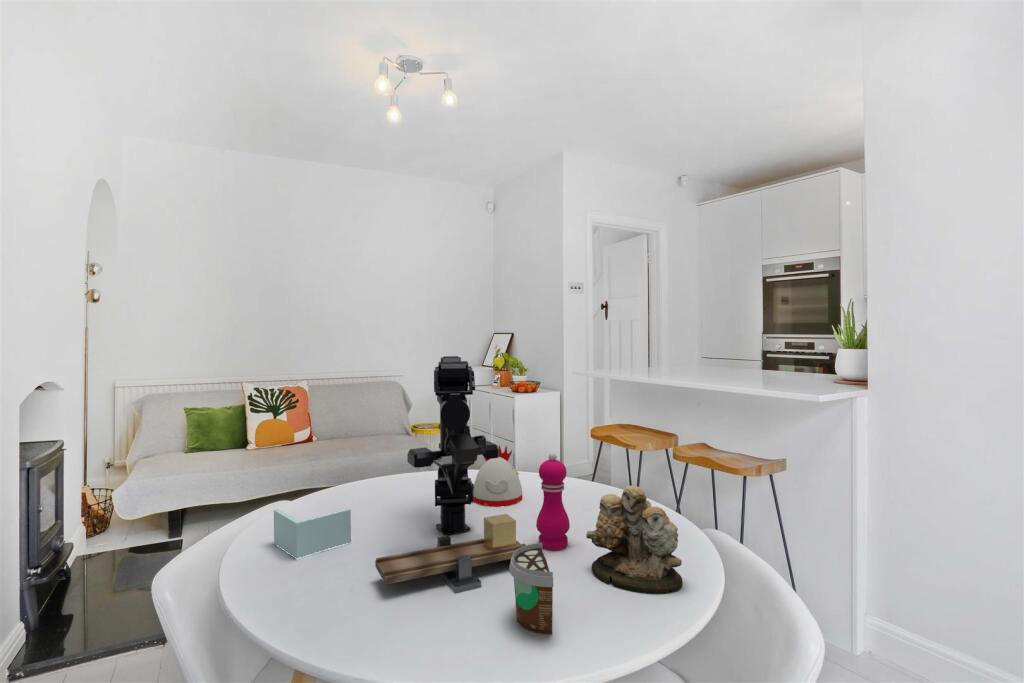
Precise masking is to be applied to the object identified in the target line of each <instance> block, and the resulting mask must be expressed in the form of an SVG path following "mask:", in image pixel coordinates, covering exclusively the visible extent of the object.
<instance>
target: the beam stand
mask: <svg viewBox="0 0 1024 683" xmlns="http://www.w3.org/2000/svg"><path fill="white" fill-rule="evenodd" d="M436 543H437V545H436V547H440V546H446V545H451V544H452V537H451V536H450V535H444V536H440V537H437V538H436ZM503 561H504V562H505V563H506V565H508V566H510V562H511V559H507V560H503ZM439 575H440V576H441V578H442V579H443V578H444V579H443V580H444V582H446V584H447V583H448V584H449V585H448V584H447V585H448V586H449V587H450V589H451V590H452V589H453V590H452V591H453V592H454V593H455V594H457V593H461V592H465V591H469V590H474V589H478V588H482V581H481V580H480V578H478V576H477V575H476V574H475V573H474V572H473V571H472V567H471V557H470V556H469V555H467V556H462V557H457V558H456V570H454V571H449V572H444V573H439Z"/></svg>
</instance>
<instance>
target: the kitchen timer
mask: <svg viewBox="0 0 1024 683" xmlns="http://www.w3.org/2000/svg"><path fill="white" fill-rule="evenodd" d="M498 448H499V457H498V458H493V459H486V458H485V457H484V456H483V459H484V460H485V462H483V464H482V465H481V467H480V469H478V472H477V474H476V478H475V480H474V483H473V484H474V493H473V502H472V503H474V504H476V505H478V506H482V507H483V506H484V507H488V506H489V507H490V508H492V507H493V508H500V507H501V506H504V507H510V505H511V506H514V505H517V504H519V503H521V502H522V501H523V489H522V488H523V487H522V483H521V480H520V478H519V472H518V470H516V469H515V467H514V466H513V464H512V463H511V462H510V461H509V460H510V457H511V455H512V452H513V449H510V451H509V453H508V446H507V445H505V447H504V451H502V449H501V445H500V444H499V445H498ZM521 500H522V501H521ZM520 501H521V502H520Z"/></svg>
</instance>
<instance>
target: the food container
mask: <svg viewBox="0 0 1024 683" xmlns="http://www.w3.org/2000/svg"><path fill="white" fill-rule="evenodd" d="M508 567H509V568H508V571H509V574H510V575H511V577H513V585H514V586H513V587H514V596H515V598H514V599H515V600H514V601H515V611H516V621H517V623H518V624H519V626H520V627H522V628H523V629H525V630H527V631H528V632H532V633H535V634H539V635H553V602H554V600H553V598H554V596H553V594H554V592H553V590H554V589H553V588H554V572H553V571H550V568H549V565H548V561H547V558H546V556H545V553H544V551H543V548H542V543H539V542H536V543H535V542H534V543H531V544H530V543H529V544H526V546H523V547H521V548H519V549H517V550H516V551H515V552H514V553H513V556H512V558H511V562H510V565H509V566H508Z"/></svg>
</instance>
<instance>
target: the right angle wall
mask: <svg viewBox="0 0 1024 683" xmlns="http://www.w3.org/2000/svg"><path fill="white" fill-rule="evenodd" d="M351 513H352V512H351V509H350V508H346V509H342V510H339V511H334V512H329V513H326V514H322V515H318V516H315V517H311V518H307V519H302V520H298V519H297V518H296V517H294V516H292V515H290V514H288V513H287V512H285V511H283V510H281V509H280V508H276V509H273V544H274V545H275V544H276V545H278V546H279V547H281V548H282V549H284V550H285V551H287V552H288V553H290V554H291V555H293V556H294V557H296V558H299V557H303V556H306V555H309V554H313V553H315V552H319V551H322V550H325V549H328V548H332V547H335V546H339V545H342V544H346V543H350V542H351V543H352V523H351V522H352V520H351V519H352V518H351V517H352V514H351ZM276 545H275V546H276ZM278 546H277V547H278ZM279 547H278V548H279ZM281 548H280V549H281ZM282 549H281V550H282ZM284 550H283V551H284ZM285 551H284V552H285ZM288 553H287V554H288ZM291 555H290V556H291Z"/></svg>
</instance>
